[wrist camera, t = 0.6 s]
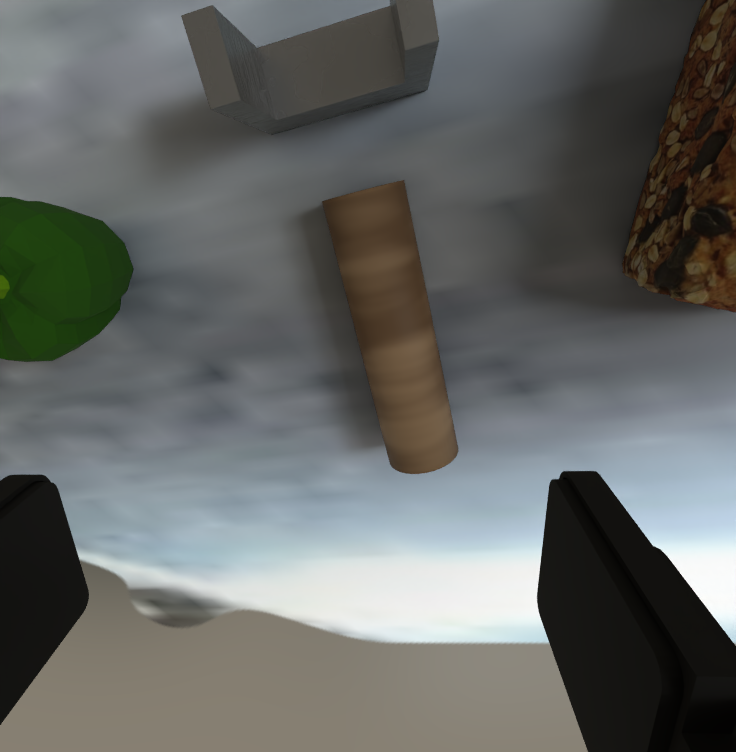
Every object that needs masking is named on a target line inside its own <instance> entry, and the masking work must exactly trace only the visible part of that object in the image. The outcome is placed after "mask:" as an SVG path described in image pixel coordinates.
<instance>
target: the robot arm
mask: <svg viewBox="0 0 736 752" xmlns="http://www.w3.org/2000/svg"><path fill="white" fill-rule="evenodd" d="M88 599H89V592H88V588H87V584H86V581H85V577H84V574H83V571H82V567H81V564H80V561H79V557H78V554H77V551H76V547H75V544H74V541H73V537H72V534H71V531H70V528H69V524H68V521H67V518H66V514H65V511H64V508H63V504H62V501H61V498H60V494H59V491H58V488H57V486H56V485H55V484H54V483H51V482H50V480H49V479H48V478H47V477H46V476H44V475H9V476H7V477H5V478H3V479H2V480H1V481H0V725H1V723H2V722H3V721H4V719H5V718H6V717H7V715H8V714H9V712H10V711H11V710H12V708H13V707H14V706H15V704H16V703H17V702H18V700H19V699H20V698H21V696H22V695H23V693H24V692H25V690H26V689H27V688H28V687H29V685H30V684H31V683H32V681H33V680H34V678H35V677H36V676H37V675H38V673H39V672H40V670H41V669H42V668H43V666H44V665H45V664H46V662H47V661H48V660H49V658H50V657H51V656H52V654H53V653H54V651H55V650H56V649H57V647H58V646H59V645H60V643H61V642H62V641H63V639H64V638H65V637H66V635H67V634H68V632H69V631H70V630H71V628H72V627H73V626H74V624H75V623H76V622H77V620H78V619H79V618H80V616H81V615H82V613H83V612H84V610H85V609H86V606H87V603H88ZM537 603H538V609H539V614H540V617H541V620H542V623H543V626H544V629H545V631H546V634H547V637H548V640H549V643H550V646H551V648H552V651H553V654H554V657H555V660H556V662H557V665H558V668H559V671H560V674H561V677H562V679H563V682H564V685H565V688H566V690H567V693H568V696H569V699H570V702H571V705H572V708H573V711H574V713H575V716H576V719H577V722H578V725H579V727H580V730H581V733H582V736H583V739H584V742H585V744H586V747H587V750H588V752H736V646H735V644H734V643H733V642H732V641H731V639H730V638H729V637H728V635H727V634H726V633H725V631H724V630H723V629H722V627H721V626H720V625H719V624H718V622H717V621H716V620H715V618H714V617H713V616H712V614H711V613H710V612H709V610H708V609H707V608H706V607H705V605H704V604H703V603H702V601H701V600H700V599H699V597H698V596H697V595H696V593H695V592H694V591H693V590H692V588H691V587H690V586H689V584H688V583H687V582H686V580H685V579H684V578H683V576H682V575H681V574H680V573H679V571H678V570H677V569H676V567H675V566H674V565H673V563H672V562H671V561H670V559H669V558H668V557H667V556H666V555H665V554H664V553H663V552H662V551H661V550H660V549H659V548H656V547H654V546H653V545H652V544H651V543H650V541H649V540H648V539H647V537H646V536H645V535H644V533H643V532H642V531H641V529H640V528H639V527H638V525H637V524H636V523H635V521H634V520H633V519H632V517H631V516H630V515H629V513H628V512H627V511H626V509H625V508H624V507H623V505H622V504H621V503H620V501H619V500H618V499H617V497H616V496H615V495H614V493H613V492H612V491H611V489H610V488H609V486H608V485H607V484H606V482H605V481H604V480H603V478H602V477H601V476H600V475H599V474H598V473H597V472H595V471H563V472H562V473H561V475H560V478H559V479H553V480H551V482H550V485H549V493H548V502H547V511H546V520H545V529H544V538H543V547H542V556H541V565H540V574H539V583H538V592H537Z"/></svg>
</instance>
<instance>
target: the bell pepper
mask: <svg viewBox="0 0 736 752" xmlns="http://www.w3.org/2000/svg"><path fill="white" fill-rule="evenodd" d="M132 272H133V266H132V263H131V261H130V258H129V255H128V252H127V249H126V246H125V243H124V242H123V241H122V240H121V239H120V238H119V237H118V236H117V235H116V234H115V233H114V232H113V231H112V230H111V229H110V228H109V227H108V226H107V225H106V224H105V223H104V222H103V221H101V220H98V219H95V218H92V217H89V216H86V215H83V214H80V213H77V212H74V211H72V210H69V209H66V208H63V207H59V206H56V205H52V204H48V203H44V202H40V201H24V200H20V199H16V198H12V197H0V358H1V359H6V360H14V361H24V362H31V361H53V360H55V359H57V358H59V357H61V356H63V355H65V354H67V353H68V352H70V351H72V350H74V349H76V348H78V347H79V346H81V345H82V344H84V343H85V342H87V341H88V340H90V339H92V338H93V337H95V336H96V335H98V334H99V333H100V332H101V331H102V330H103V329H104V328H105V327H106V326H107V325H108V324H109V322H110V321H111V320H112V319H113V318H114V316H115V315H116V314H117V312H118V311H119V310H120V304H121V299H120V298H121V297H122V296H123V294H124V293H125V292H126V291H127V289H128V286H129V282H130V279H131V276H132Z"/></svg>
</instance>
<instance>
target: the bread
mask: <svg viewBox="0 0 736 752" xmlns="http://www.w3.org/2000/svg"><path fill="white" fill-rule="evenodd" d="M675 91H676V92H675V94H674V96H673V98H672V100H671V102H670V105H669V109H668V114H667V118H666V121H665V123H664V125H663V127H662V129H661V131H660V135H659V143H660V146H659V149H658V152H657V154H656V155H655V157H654V158H653V159H652V161H651V163H650V166H649V170H648V174H647V178H646V181H645V184H644V187H643V190H642V193H641V196H640V199H639V202H638V206H637V210H636V214H635V218H634V221H633V224H632V228H631V233H630V238H629V244H628V247H627V250H626V253H625V256H624V259H623V263H622V265H623V273H625V276H628V277H629V278H632V279H635V280H636V281H637V282H638V285H639V286H640V287H644V288H646V289H647V290H649V291H651V292H654V293H660V294H666V295H670V296H671V298H673V299H675V300H677V301H682V302H688V303H693V304H699V305H704V306H708V307H712V308H716V309H723V310H729V311H731V312H736V0H706V2H705V3H704V5H703V7H702V9H701V11H700V14H699V17H698V20H697V22H696V25H695V27H694V30H693V32H692V35H691V39H690V45H689V50H688V53H687V54H686V56H685V57H684V67H683V70H682V72H681V74H680V77H679V79H678V82H677V84H676V87H675ZM671 298H670V299H671Z"/></svg>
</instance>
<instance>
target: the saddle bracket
mask: <svg viewBox="0 0 736 752" xmlns="http://www.w3.org/2000/svg"><path fill="white" fill-rule="evenodd" d="M181 17H182V20H183V23H184V26H185V29H186V33H187V36H188V39H189V42H190V45H191V48H192V52H193V55H194V58H195V61H196V64H197V68H198V71H199V74H200V77H201V80H202V83H203V87H204V90H205V93H206V96H207V99H208V103H209V106H210V109H212V110H214V111H216V112H219V113H221V114H224V115H226V116H228V117H231V118H233V119H236V120H238V121H240V122H243V123H245V124H247V125H250V126H252V127H255V128H257V129H259V130H262V131H264V132H267V133H269V134H271V135H273V134H276V133H280V132H283V131H286V130H290V129H293V128H297V127H300V126H304V125H307V124H311V123H314V122H318V121H321V120H325V119H328V118H332V117H335V116H339V115H342V114H346V113H349V112H353V111H356V110H359V109H363V108H366V107H370V106H373V105H377V104H380V103H384V102H387V101H391V100H394V99H398V98H401V97H405V96H408V95H412V94H415V93H419V92H422V91H425V90H428V85H429V81H430V77H431V72H432V68H433V64H434V60H435V55H436V51H437V47H438V42H439V37H438V30H437V24H436V18H435V12H434V6H433V0H390V6H388V7H385V8H382V9H379V10H376V11H373V12H369V13H366V14H363V15H360V16H357V17H354V18H351V19H347V20H344V21H341V22H338V23H335V24H332V25H329V26H325V27H322V28H319V29H316V30H313V31H310V32H306V33H303V34H300V35H297V36H294V37H291V38H288V39H284V40H281V41H278V42H275V43H272V44H269V45H266V46H262V47H259V48H256V47H255V46H254V45H253V44H252V43H251V42H250V41H249V40H248V39H247V38H246V37H245V36H244V35H243V34H242V33H241V32H240V31H239V30H238V29H237V28H236V27H235V26H234V25H233V24H232V23H231V22H230V21H229V20H227V19H226V18H225V17H224V16H223V15H222V14H221V13H220V12H219V11H218V10H217V9H216V8H215V7H214V6H213V5H212V6H209V7H206V8H203V9H200V10H197V11H194V12H191V13H188V14H185V15H182V16H181Z"/></svg>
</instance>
